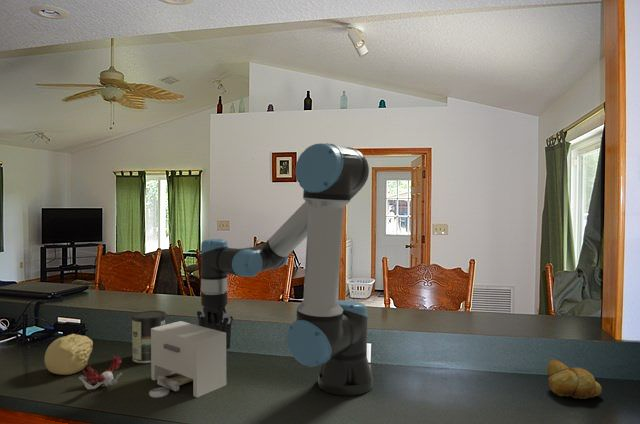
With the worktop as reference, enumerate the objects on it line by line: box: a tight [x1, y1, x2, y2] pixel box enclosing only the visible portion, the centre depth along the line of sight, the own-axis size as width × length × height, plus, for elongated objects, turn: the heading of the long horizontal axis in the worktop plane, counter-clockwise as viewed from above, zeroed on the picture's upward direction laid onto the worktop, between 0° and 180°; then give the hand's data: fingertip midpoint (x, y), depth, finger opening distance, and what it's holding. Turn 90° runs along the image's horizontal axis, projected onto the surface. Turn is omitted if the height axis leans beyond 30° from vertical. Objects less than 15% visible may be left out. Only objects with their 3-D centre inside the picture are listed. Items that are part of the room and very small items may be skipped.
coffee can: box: [131, 310, 167, 364], centre depth 150 cm, size 10×10×14 cm
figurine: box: [78, 355, 123, 390], centre depth 128 cm, size 15×12×7 cm
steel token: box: [148, 386, 170, 399], centre depth 123 cm, size 5×5×1 cm
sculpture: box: [44, 333, 94, 376], centre depth 138 cm, size 11×12×11 cm
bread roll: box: [546, 359, 603, 400], centre depth 123 cm, size 13×10×8 cm
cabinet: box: [150, 320, 227, 398], centre depth 130 cm, size 20×11×14 cm, turn 54°
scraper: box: [156, 374, 193, 392], centre depth 133 cm, size 8×18×10 cm, turn 143°
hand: (214, 370), depth 139 cm, fingers open, 3 cm apart
